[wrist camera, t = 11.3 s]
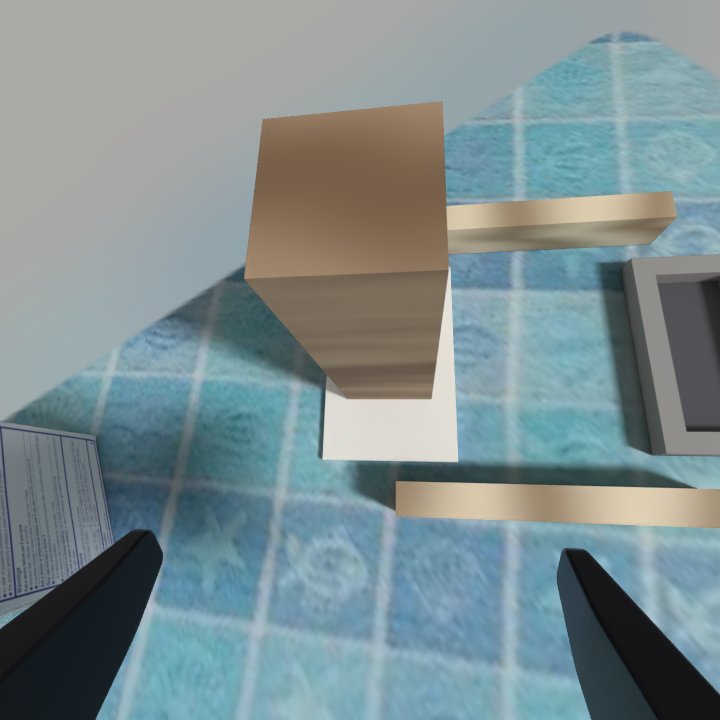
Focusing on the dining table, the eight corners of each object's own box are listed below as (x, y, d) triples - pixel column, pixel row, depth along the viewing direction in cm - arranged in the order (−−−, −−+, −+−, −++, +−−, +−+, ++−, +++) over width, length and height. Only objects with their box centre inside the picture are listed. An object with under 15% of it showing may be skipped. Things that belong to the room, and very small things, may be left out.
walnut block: (431, 399, 22) (448, 269, 9) (347, 399, 23) (244, 278, 9) (429, 320, 23) (442, 101, 10) (350, 322, 24) (262, 119, 11)
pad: (449, 269, 24) (450, 266, 24) (457, 462, 21) (458, 461, 21) (332, 274, 25) (331, 272, 25) (323, 459, 22) (322, 459, 22)
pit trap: (731, 264, 22) (748, 252, 21) (781, 457, 19) (804, 455, 18) (620, 269, 23) (631, 258, 22) (652, 455, 20) (666, 453, 19)
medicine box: (32, 462, 25) (-165, 451, 16) (100, 433, 24) (-62, 408, 16) (48, 603, 22) (-174, 675, 14) (124, 572, 22) (-54, 626, 14)
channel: (646, 220, 23) (671, 191, 21) (706, 523, 19) (747, 529, 16) (398, 235, 25) (395, 209, 23) (398, 512, 21) (395, 516, 18)
